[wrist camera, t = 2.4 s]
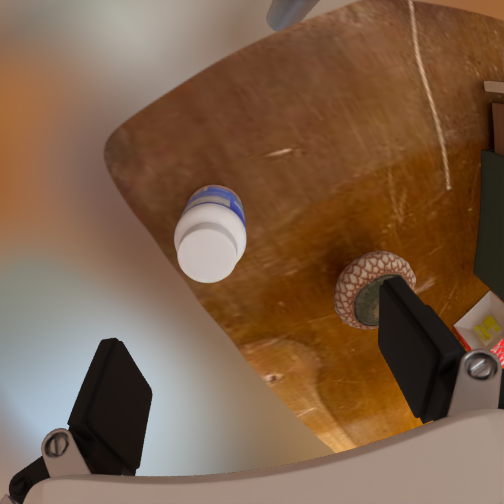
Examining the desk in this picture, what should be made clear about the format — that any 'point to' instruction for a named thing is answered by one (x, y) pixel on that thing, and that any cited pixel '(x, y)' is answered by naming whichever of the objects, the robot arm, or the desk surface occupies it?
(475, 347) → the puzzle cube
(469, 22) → the desk surface
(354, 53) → the desk surface
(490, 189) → the cabinet
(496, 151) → the drawer
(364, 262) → the acorn
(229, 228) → the pill bottle
